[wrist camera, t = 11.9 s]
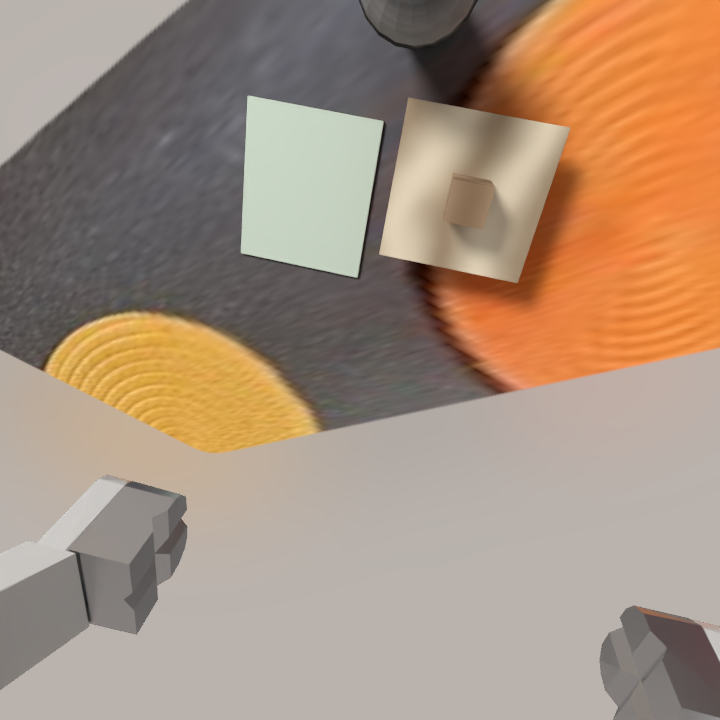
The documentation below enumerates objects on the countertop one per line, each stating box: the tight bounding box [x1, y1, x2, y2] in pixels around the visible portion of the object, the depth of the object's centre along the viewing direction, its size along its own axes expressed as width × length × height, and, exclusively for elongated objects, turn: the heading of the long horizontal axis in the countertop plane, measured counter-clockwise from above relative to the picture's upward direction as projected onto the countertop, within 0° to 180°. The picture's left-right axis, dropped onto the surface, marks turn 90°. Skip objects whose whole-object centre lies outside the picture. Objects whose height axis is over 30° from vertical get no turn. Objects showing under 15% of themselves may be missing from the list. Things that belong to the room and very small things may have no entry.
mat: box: [241, 96, 384, 278], centre depth 44 cm, size 12×14×1 cm
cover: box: [379, 98, 570, 283], centre depth 36 cm, size 12×12×5 cm
